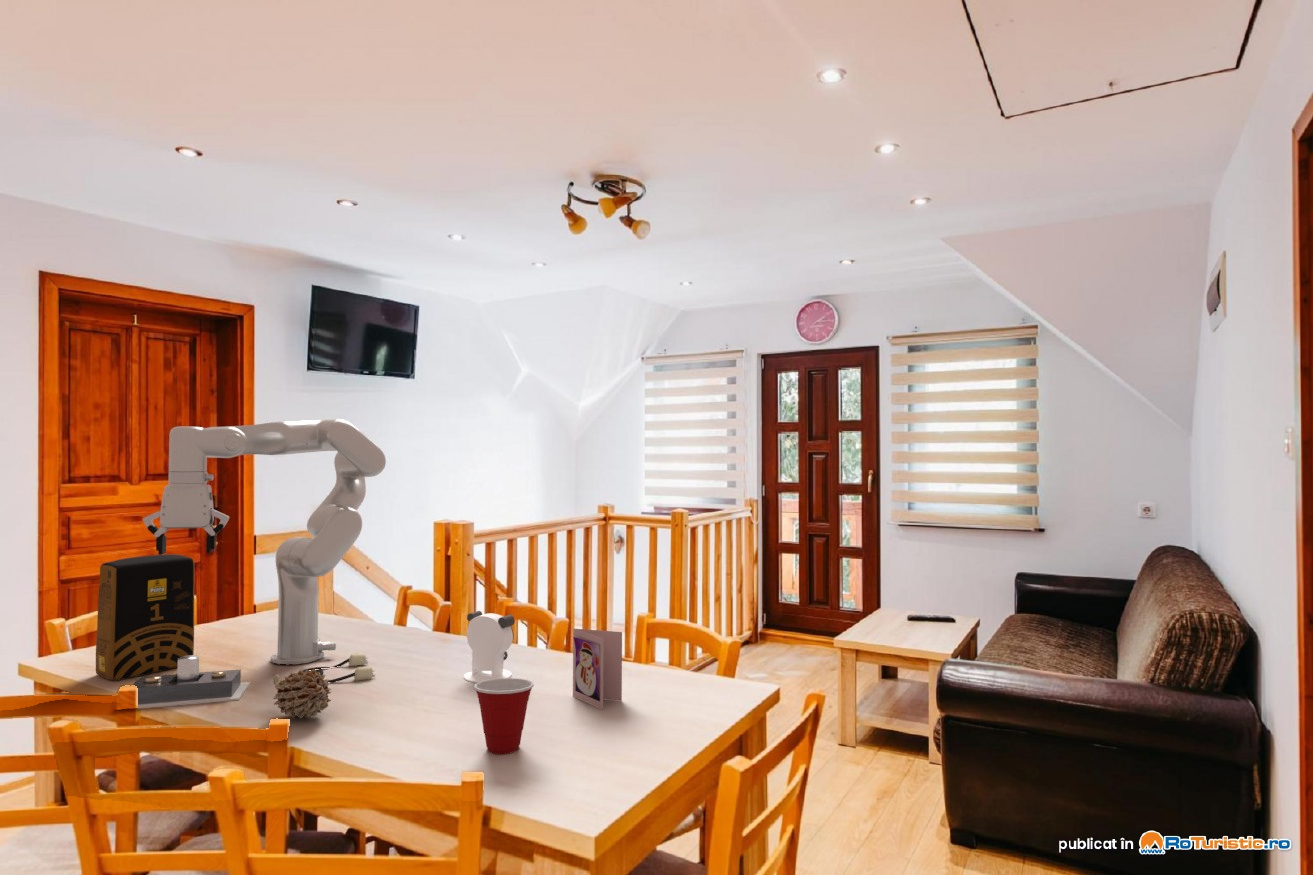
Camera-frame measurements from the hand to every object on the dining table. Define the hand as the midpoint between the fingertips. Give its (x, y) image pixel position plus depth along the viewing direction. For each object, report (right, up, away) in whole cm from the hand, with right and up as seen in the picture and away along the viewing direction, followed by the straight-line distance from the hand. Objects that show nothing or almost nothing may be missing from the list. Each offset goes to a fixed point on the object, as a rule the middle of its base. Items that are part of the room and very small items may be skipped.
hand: (186, 553), depth 174 cm
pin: (+6, -30, -9) cm, 32 cm away
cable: (+33, -32, +8) cm, 46 cm away
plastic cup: (+81, -30, -37) cm, 94 cm away
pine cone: (+35, -30, -20) cm, 50 cm away
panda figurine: (+69, -31, +7) cm, 76 cm away
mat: (+6, -30, -9) cm, 32 cm away
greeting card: (+97, -31, -10) cm, 102 cm away
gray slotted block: (+6, -30, -9) cm, 32 cm away
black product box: (-17, -31, +11) cm, 36 cm away
